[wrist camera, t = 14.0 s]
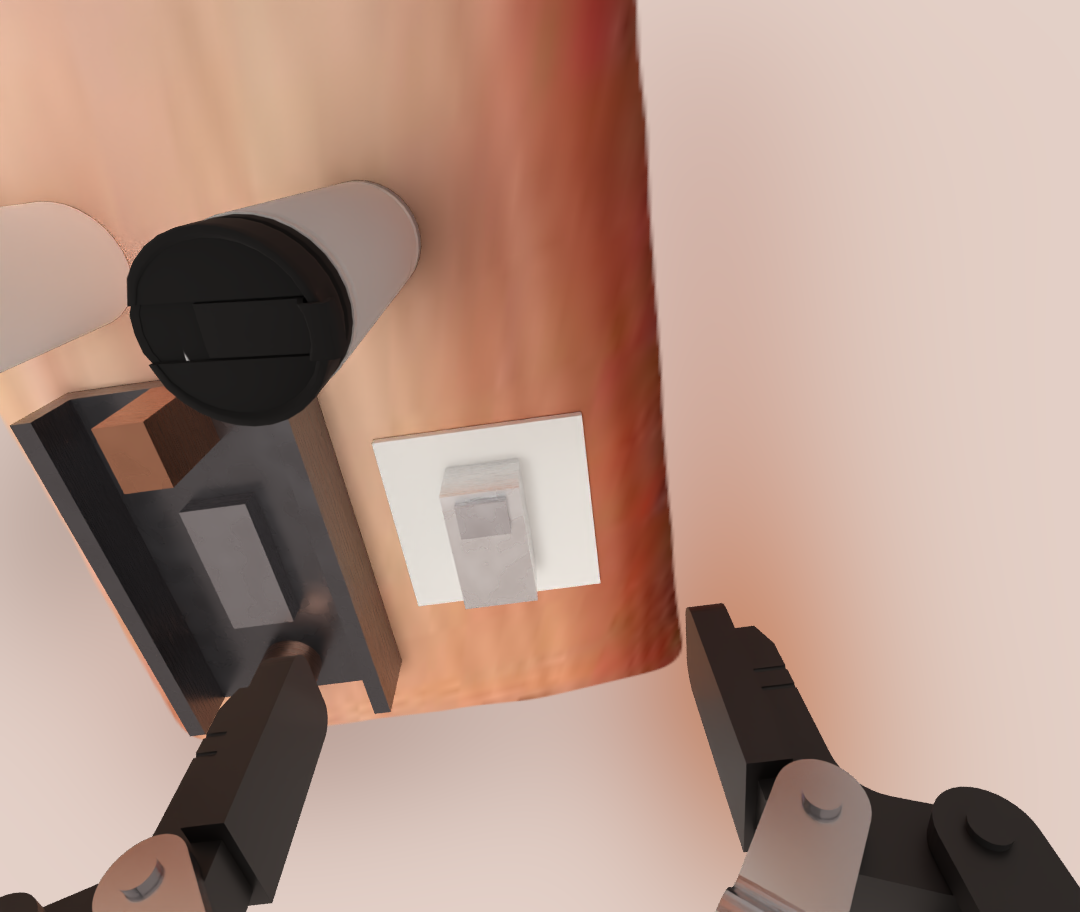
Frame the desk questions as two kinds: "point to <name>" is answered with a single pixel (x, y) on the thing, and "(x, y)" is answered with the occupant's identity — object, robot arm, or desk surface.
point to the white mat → (549, 488)
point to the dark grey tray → (216, 541)
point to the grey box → (489, 533)
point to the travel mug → (269, 297)
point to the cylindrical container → (55, 279)
